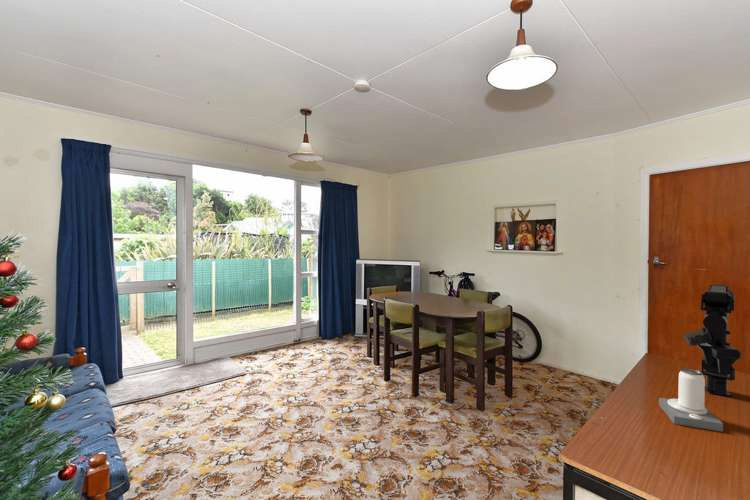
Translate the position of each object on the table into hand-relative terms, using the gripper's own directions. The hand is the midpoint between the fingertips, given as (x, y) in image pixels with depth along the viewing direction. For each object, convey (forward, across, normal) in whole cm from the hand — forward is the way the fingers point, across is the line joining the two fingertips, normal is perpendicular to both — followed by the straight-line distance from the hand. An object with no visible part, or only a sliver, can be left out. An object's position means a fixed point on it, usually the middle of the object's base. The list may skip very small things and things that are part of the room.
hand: (715, 369), depth 123 cm
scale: (+13, +14, -12) cm, 23 cm away
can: (+10, +13, -11) cm, 20 cm away
